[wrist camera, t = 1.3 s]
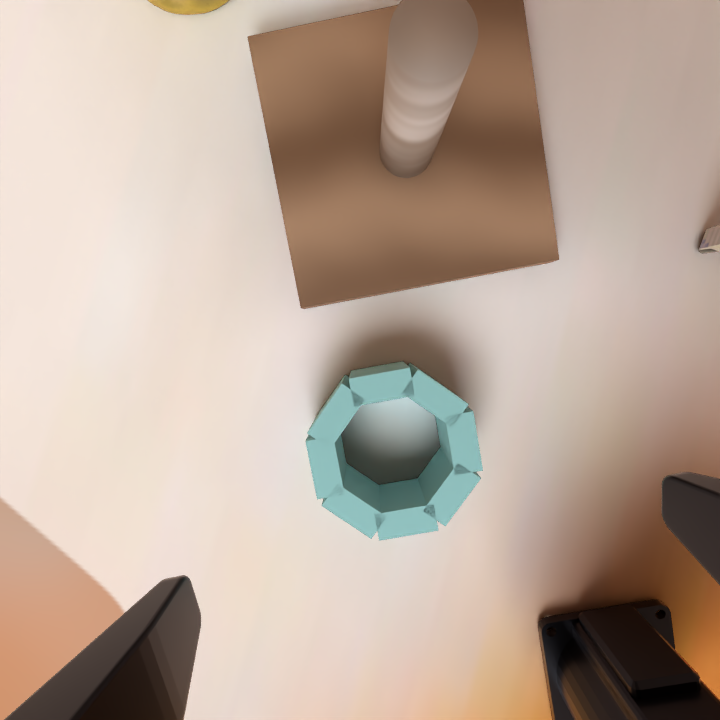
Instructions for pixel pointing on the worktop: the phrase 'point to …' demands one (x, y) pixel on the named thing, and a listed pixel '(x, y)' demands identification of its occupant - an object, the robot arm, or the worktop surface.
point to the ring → (404, 498)
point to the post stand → (406, 147)
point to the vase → (188, 5)
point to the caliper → (711, 240)
